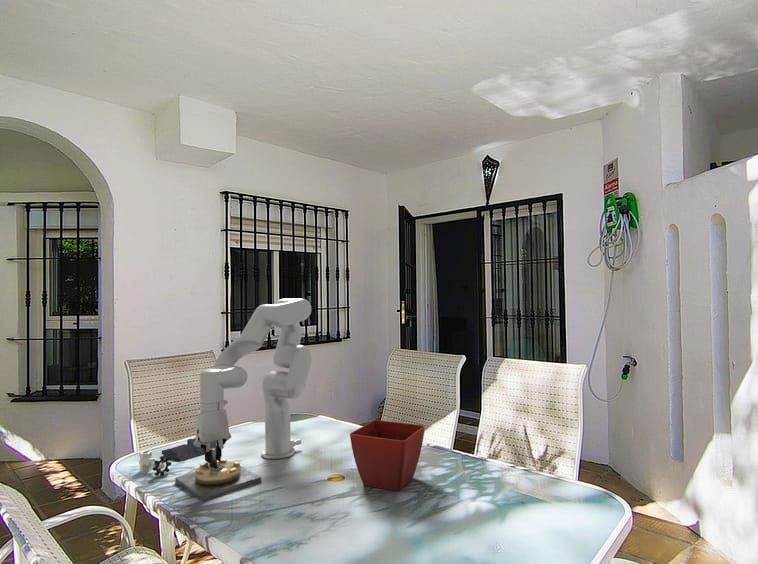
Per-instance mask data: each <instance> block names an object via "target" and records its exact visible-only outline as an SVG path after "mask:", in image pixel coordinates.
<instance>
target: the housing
mask: <svg viewBox="0 0 758 564" xmlns="http://www.w3.org/2000/svg"><path fill="white" fill-rule="evenodd" d="M174 479H175V480H174V481H175V482H174V483H175V484H176V485H178V486H179V487H181V488H182V489H184V490H185V491H186V492H188V493H189V494H190V495H192V496H193V497H195V498H197V499H198V500H199V501H200V502H203V501H207V500H210V499H212V498H216V497H219V496H222V495H225V494H228V493H229V494H230V493H232V492H234V491H237V490H241V489H244V488H247V487H251V486H253V485H257V484H260V483H262V476H261V475H258V474H257V473H255V472H253V471H251V470H248V469H247V468H244V467H243V466H241V465H240V476H239V477H238V478H237V479H235V480H233V481H230V482H227V483H223V484H217V485H204V484H200V483H197V482H196V480H195V472H192V473H188V474H185V475H181V476H177V477H175V478H174Z"/></svg>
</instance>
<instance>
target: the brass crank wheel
mask: <svg viewBox="0 0 758 564" xmlns="http://www.w3.org/2000/svg"><path fill="white" fill-rule="evenodd" d="M210 451H211V452H212V463H210V464H209V463H208V462H204V463H201V464H199V467H197V468H196V469H195V472H194V473H195V480H196V482H197V483H200V484H204V485H217V484H223V483H227V482H230V481H233V480H235V479H237V478H238V477H239V476H240V466H241V463H240V462H239V461H238V460H236V461H230V460H229V461H228V460H227V458H226V459H225V458H224V459H223V458H221V461H218V460H217V448H211V449H210Z"/></svg>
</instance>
